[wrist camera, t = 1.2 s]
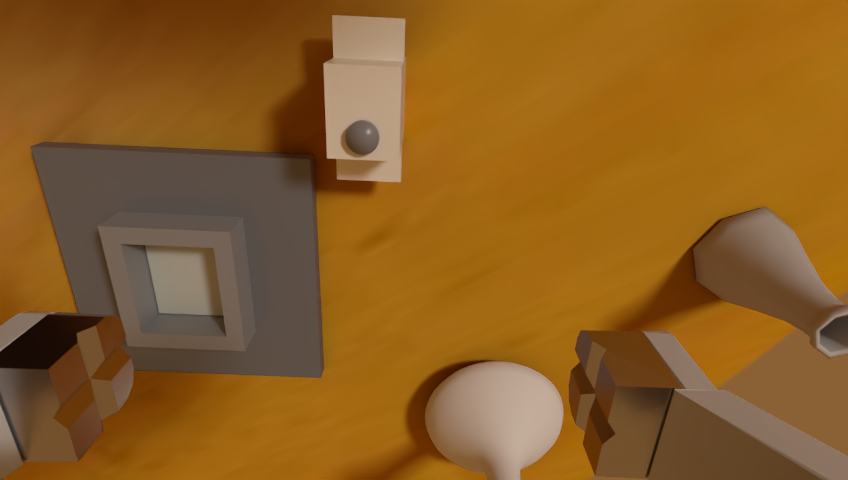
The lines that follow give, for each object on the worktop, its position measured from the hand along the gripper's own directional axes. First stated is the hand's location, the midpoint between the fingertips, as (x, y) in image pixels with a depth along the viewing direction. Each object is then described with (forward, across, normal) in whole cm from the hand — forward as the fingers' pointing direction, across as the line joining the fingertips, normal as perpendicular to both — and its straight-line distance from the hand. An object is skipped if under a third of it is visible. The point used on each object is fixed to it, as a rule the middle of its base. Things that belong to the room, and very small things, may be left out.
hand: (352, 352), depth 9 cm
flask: (+26, -25, +9) cm, 37 cm away
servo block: (+26, +2, -1) cm, 26 cm away
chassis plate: (+26, +15, +12) cm, 32 cm away
